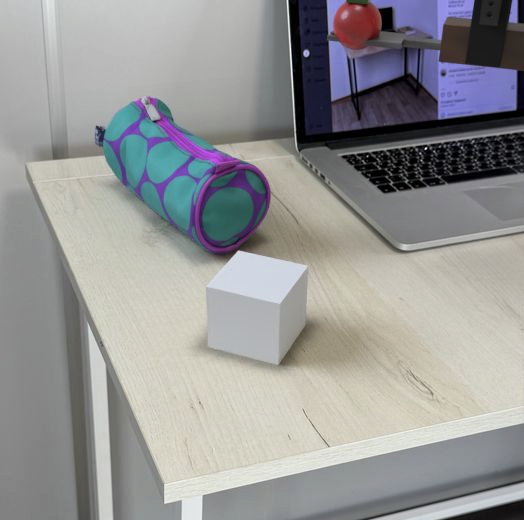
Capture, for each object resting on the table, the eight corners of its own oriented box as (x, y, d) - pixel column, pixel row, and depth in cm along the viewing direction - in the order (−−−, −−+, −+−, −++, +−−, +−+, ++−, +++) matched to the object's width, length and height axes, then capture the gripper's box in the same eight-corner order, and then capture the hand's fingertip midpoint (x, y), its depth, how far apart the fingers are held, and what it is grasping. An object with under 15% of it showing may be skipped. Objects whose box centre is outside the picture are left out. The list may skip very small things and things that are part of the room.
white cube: (305, 329, 72) (308, 265, 69) (278, 369, 68) (280, 304, 64) (238, 312, 74) (238, 250, 70) (207, 351, 70) (205, 286, 66)
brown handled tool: (579, 64, 71) (592, 9, 69) (579, 80, 68) (592, 22, 66) (335, 39, 76) (338, -14, 73) (324, 52, 73) (327, -2, 70)
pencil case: (98, 185, 93) (89, 97, 88) (172, 167, 97) (167, 81, 92) (195, 271, 79) (191, 172, 74) (277, 246, 83) (279, 150, 78)
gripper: (493, -302, 64) (449, 27, 78) (471, -307, 52) (424, 84, 66) (601, -301, 63) (536, 36, 76) (603, -306, 51) (526, 95, 64)
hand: (484, 57), depth 71 cm, fingers closed on brown handled tool, 2 cm apart
